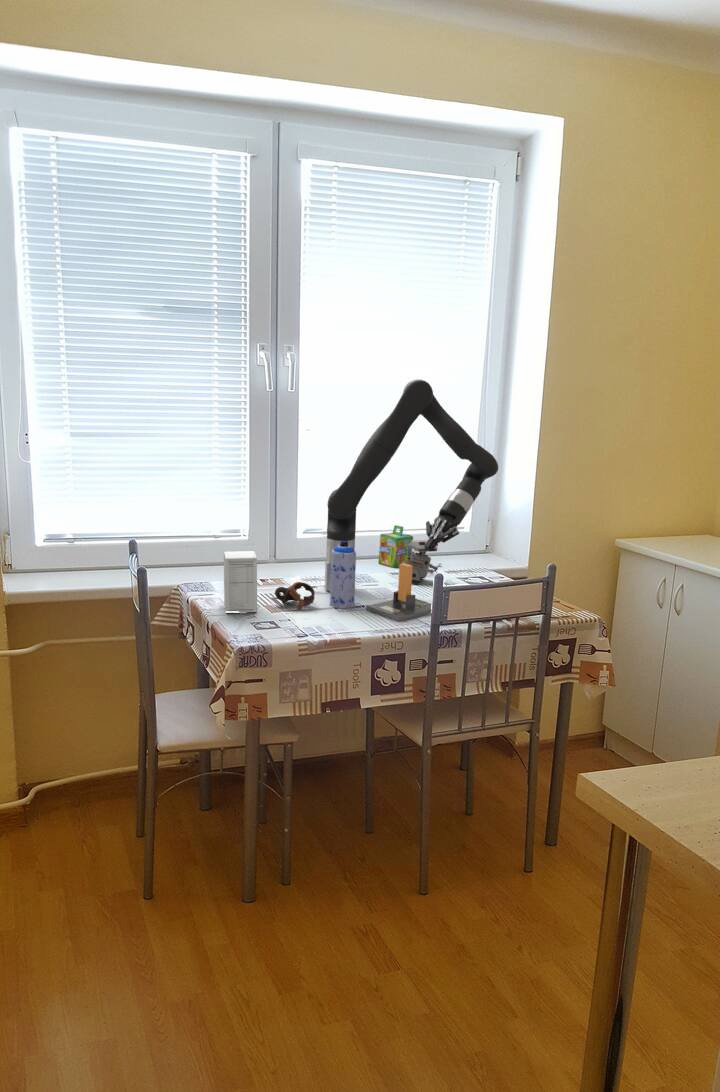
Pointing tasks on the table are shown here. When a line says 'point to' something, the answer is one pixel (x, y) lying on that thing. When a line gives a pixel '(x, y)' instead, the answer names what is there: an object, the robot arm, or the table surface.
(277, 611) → the table surface
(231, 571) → the supplement box
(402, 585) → the lever
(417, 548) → the figurine
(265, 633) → the table surface
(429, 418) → the robot arm
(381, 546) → the chalk box
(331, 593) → the blue patterned bottle
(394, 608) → the plate
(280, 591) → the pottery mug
